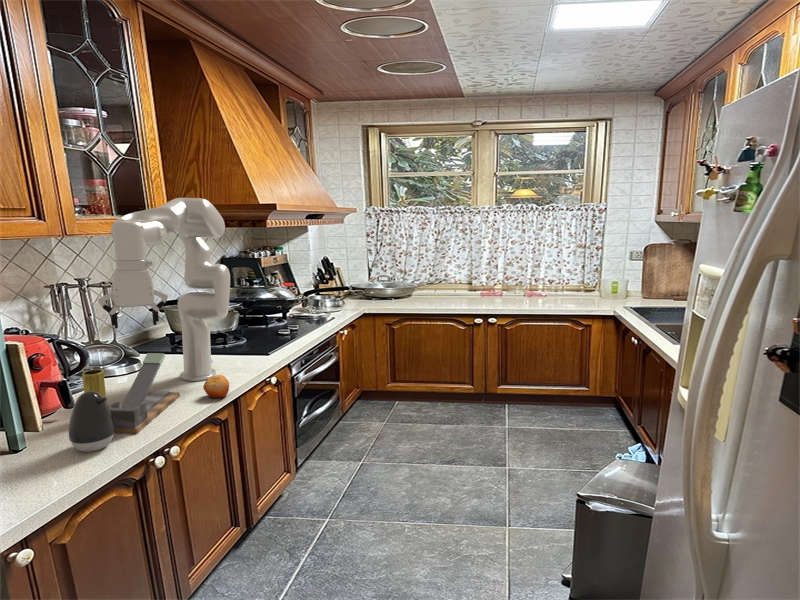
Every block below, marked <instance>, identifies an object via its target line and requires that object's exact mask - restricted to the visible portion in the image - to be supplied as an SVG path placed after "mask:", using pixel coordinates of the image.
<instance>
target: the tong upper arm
mask: <svg viewBox="0 0 800 600" xmlns="http://www.w3.org/2000/svg"><path fill="white" fill-rule="evenodd" d="M165 357H166V355H165V353H163V352H162V353H161V352H154V353H153V352H147V353H146V355H145V356H144V359H143V361H142V365H141V366H140V369H139V372H138V373H137V375H136V377H135V379H134V381H133V383H132V385H131V387H130V388H129V391H128V392H127V395H126V397H125V399H124V400H123V402H122V405H120V408H135V407H136V406H138V405H139V404H140V403H142V402H143V401H144V399H145V397H146V395H147V393H148V392H150V391H149V390H150V388H151V386H152V385H153V382H154V381H155V378H156V377H157V374H158V372H159V369H160V368H161V366H162V363H163V362H164V360H165Z"/></svg>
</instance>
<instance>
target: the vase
mask: <svg viewBox="0 0 800 600" xmlns="http://www.w3.org/2000/svg"><path fill="white" fill-rule="evenodd" d="M81 376H82V384H83V385H82V387H83V393H85V392H88V391H95V392H97V393H99V394H100V395H101V396H102V397H107V391H106V382H105V372H104V370H103V369H101V368H95V369H93V368H92V369H89V370H85V371H83V372H82V375H81ZM107 400H108V399H107ZM107 400H106V403H107V404H108V401H107Z"/></svg>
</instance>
